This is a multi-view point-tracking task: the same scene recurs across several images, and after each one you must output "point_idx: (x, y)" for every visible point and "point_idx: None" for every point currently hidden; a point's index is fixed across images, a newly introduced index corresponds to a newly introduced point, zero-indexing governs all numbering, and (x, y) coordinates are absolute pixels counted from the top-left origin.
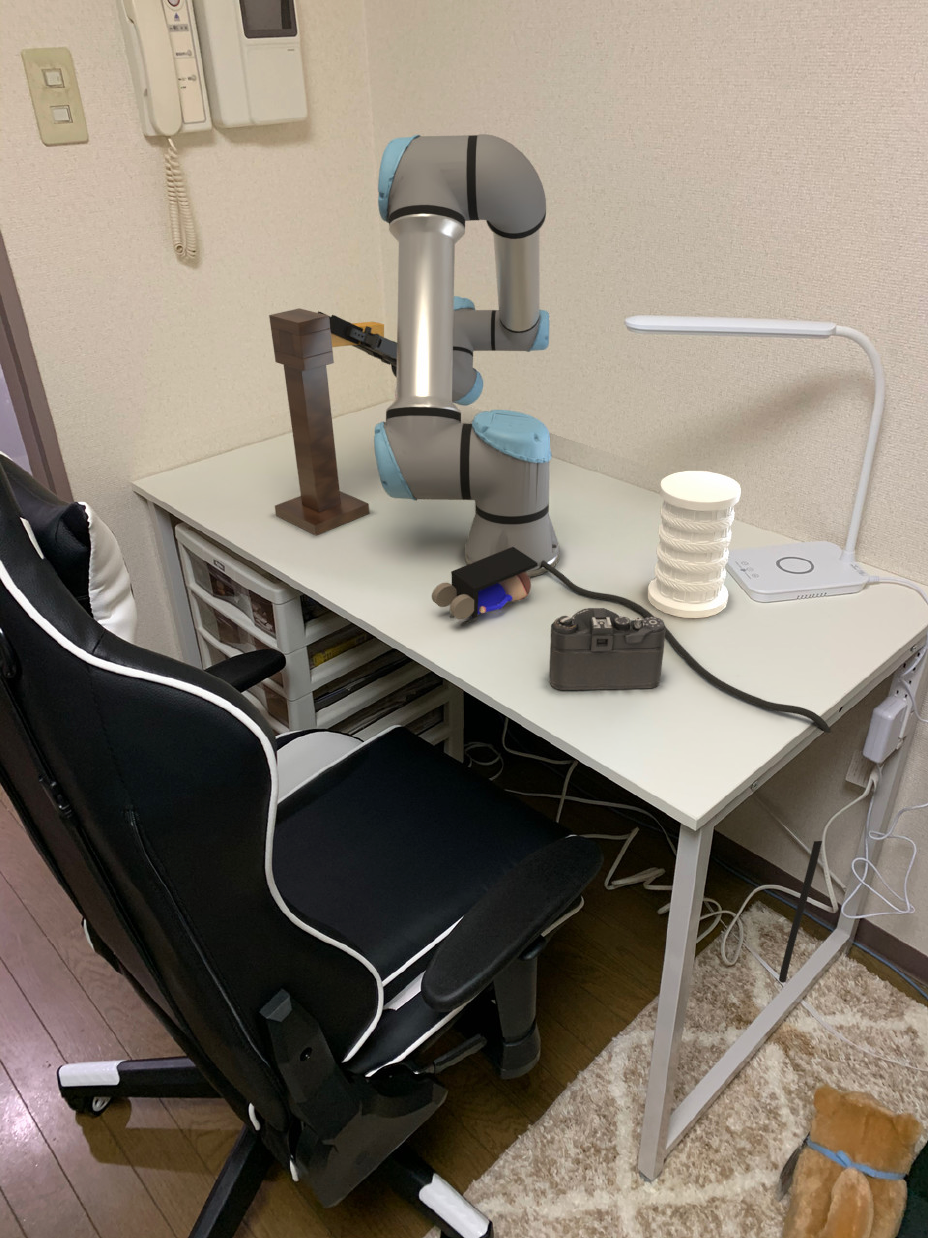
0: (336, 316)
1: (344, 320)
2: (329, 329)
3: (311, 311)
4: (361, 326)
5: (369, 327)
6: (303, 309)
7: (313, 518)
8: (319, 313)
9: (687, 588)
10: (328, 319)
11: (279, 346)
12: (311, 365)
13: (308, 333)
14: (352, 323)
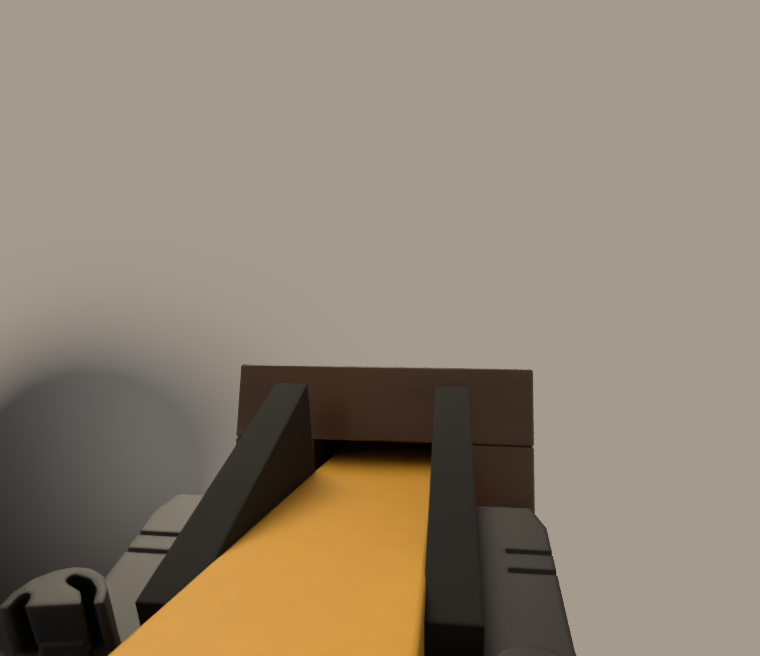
0: (271, 393)
1: (245, 435)
2: (237, 442)
3: (401, 368)
4: (183, 593)
5: (35, 583)
6: (481, 369)
7: None
8: (324, 367)
9: None
10: (241, 385)
11: None
12: None
13: None
14: (401, 612)
